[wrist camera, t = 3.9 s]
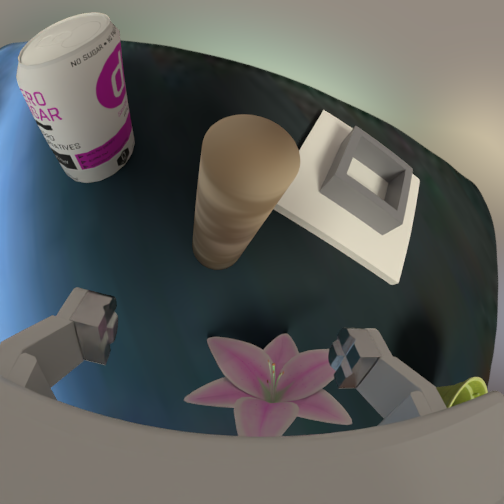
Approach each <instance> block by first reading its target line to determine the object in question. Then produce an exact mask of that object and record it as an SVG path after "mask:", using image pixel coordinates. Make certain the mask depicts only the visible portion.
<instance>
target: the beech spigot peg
mask: <svg viewBox="0 0 504 504" xmlns="http://www.w3.org/2000/svg"><path fill="white" fill-rule="evenodd" d="M299 168H300V154H299V150H298V147H297V145H296V143H295V141H294V140H293V138H292V137H291V136H290V135H289V134H288V132H287V131H285V130H284V129H283V128H282V127H281V126H279V125H278V124H276V123H274V122H273V121H270V120H268V119H266V118H263V117H260V116H255V115H247V114H240V115H233V116H229V117H226V118H223V119H221V120H219V121H218V122H216V123H215V124H213V125H212V126H211V127H210V128H209V130H208V131H207V133H206V134H205V136H204V139H203V143H202V150H201V159H200V167H199V176H198V186H197V195H196V206H195V217H194V230H193V243H192V247H193V252H194V255H195V257H196V258H197V260H198V261H199V262H200V263H201V264H202V265H204V266H205V267H207V268H210V269H215V270H221V269H225V268H228V267H230V266H232V265H233V264H234V263H235V262H236V261H237V260H238V258H239V257H240V256H241V254H242V253H243V251H244V250H245V248H246V247H247V246H248V244H249V243H250V241H251V240H252V238H253V237H254V236H255V234H256V233H257V231H258V230H259V228H260V227H261V226H262V224H263V223H264V221H265V220H266V219H267V217H268V216H269V214H270V213H271V211H272V210H273V209H274V207H275V206H276V204H277V203H278V201H279V200H280V199H281V197H282V196H283V194H284V193H285V192H286V190H287V189H288V187H289V186H290V184H291V183H292V182H293V180H294V179H295V177H296V176H297V174H298V171H299Z"/></svg>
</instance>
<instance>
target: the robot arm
mask: <svg viewBox="0 0 504 504" xmlns="http://www.w3.org/2000/svg"><path fill="white" fill-rule="evenodd" d="M116 307H117V303H116V298H115V297H114V296H111V295H106V294H102V293H98V292H94V291H91V290H86V289H82V288H78V287H76V288H74V289H73V291H72V292H71V294H70V295H69V297H68V298H67V300H66V301H65V303H64V304H63V306H62V308H61V309H60V311H59V312H58V314H57V315H56V316H53V315H52V316H50V317H48V318H46V319H44V320H42V321H40V322H38V323H37V324H35V325H33V326H31V327H29V328H27V329H25V330H23V331H21V332H19V333H17V334H15V335H13V336H11V337H10V338H8V339H6V340H4V341H2V342H1V344H0V504H504V395H503V394H501V393H499V392H498V391H491V392H488V393H486V394H484V395H481V396H479V397H476V398H474V399H471V400H469V401H466V402H463V403H461V404H458V405H455V406H452V407H449V408H447V407H446V405H445V404H444V402H443V400H442V398H441V396H440V394H439V392H438V391H437V389H436V387H435V386H434V385H432V384H431V383H430V382H428V381H427V380H426V379H424V378H423V377H422V376H420V375H419V374H418V373H417V372H415V371H414V370H413V369H411V368H410V367H409V366H407V365H406V364H405V363H403V362H402V361H401V360H399V359H398V358H397V357H393V356H392V354H391V352H390V351H389V349H388V347H387V345H386V344H385V342H384V340H383V338H382V336H381V335H380V333H379V331H378V330H377V329H370V328H365V329H362V328H342V329H341V330H340V331H339V333H338V335H337V336H338V340H337V341H335V342H334V343H332V345H331V347H330V349H329V354H328V360H329V364H330V366H331V367H332V368H333V369H334V370H335V373H334V378H335V381H336V384H337V387H338V388H356V389H357V390H358V391H359V392H360V393H361V395H362V396H363V397H364V398H365V399H366V400H367V401H368V402H369V403H370V404H371V405H372V406H373V407H374V408H375V409H376V410H377V412H378V413H379V414H380V415H381V416H382V417H383V418H384V420H383V421H382V422H381V423H380V424H379V425H378V426H375V427H370V428H364V429H358V430H351V431H344V432H336V433H327V434H316V435H302V436H279V437H248V436H225V435H211V434H201V433H191V432H183V431H176V430H169V429H163V428H157V427H152V426H146V425H141V424H136V423H132V422H127V421H123V420H119V419H115V418H111V417H107V416H103V415H100V414H96V413H93V412H90V411H86V410H83V409H80V408H77V407H74V406H71V405H68V404H65V403H62V402H60V401H57V399H56V397H55V396H54V394H53V392H52V390H51V387H52V386H53V385H55V384H56V383H57V382H58V381H59V380H61V379H62V378H63V377H64V376H66V375H67V374H68V373H69V372H70V371H72V370H73V369H74V368H75V367H77V366H78V365H79V364H80V363H81V362H83V360H87V361H91V362H95V363H99V364H104V365H106V362H107V360H108V357H109V354H110V351H111V349H110V344H111V343H112V342H114V340H115V337H116V334H117V329H118V316H117V314H116V313H115V312H114V311H115V309H116Z"/></svg>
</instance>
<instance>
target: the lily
mask: <svg viewBox="0 0 504 504" xmlns="http://www.w3.org/2000/svg"><path fill="white" fill-rule="evenodd" d="M207 343H208V346H209V348H210V350H211V352H212V354H213V356H214V358H215V360H216V362H217V364H218V366H219V368H220V369H221V371H222V372H223V374H224V375H225V376H226V377H224V378H220V379H218V380H215V381H213V382H211V383H208V384H206V385H204V386H202V387H200V388H199V389H197V390H195V391H193V392H192V393H190V394H189V395H187V396H186V397H185V399H184V401H186V402H188V403H193V404H200V405H207V406H217V407H231V408H234V415H235V421H236V427H237V432H238V436H248V437H279V436H282V434H283V433H284V432H285V431H286V429H287V428H288V427H289V426H290V425H291V423H292V422H293V421H294V420H295V418H296V416H298V417H302V418H306V419H311V420H316V421H322V422H328V423H335V424H344V425H349V424H352V419H351V418H350V416H349V414H348V413H347V412H346V411H345V409H344V408H343V407H342V406H341V405H340V404H339V403H338V402H337V401H336V400H335V398H334V397H333V396H331V395H330V394H329V393H328V392H326V391H325V390H323V389H322V388H323V387H325V386H326V385H327V384H328V383H329V382H331V381H332V380H333V379H334V373H335V370H334V369H333V368H332V367H331V366H330V364H329V360H328V354H329V349H318V350H309V351H305V352H302V353H299V352H298V349H297V347H296V345H295V343H294V341H293V340H292V338H291V337H290V336H289V335H288V334H281V335H279V336H278V337H276V338H275V339H274V340H272V341H271V342H270V343H269V344H268V345H267V346H266V347H265V348H264V350H262V349H261V348H259V347H257V346H255V345H253V344H250V343H247V342H244V341H240V340H235V339H231V338H224V337H210V338H208V339H207Z"/></svg>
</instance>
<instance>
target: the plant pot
mask: <svg viewBox="0 0 504 504" xmlns="http://www.w3.org/2000/svg"><path fill="white" fill-rule="evenodd" d="M436 389H437V391H438V392H439V394H440V396H441V398H442V400H443V402H444V404H445V405H446V407H447V408H449V407H452V406H455V405H458V404H461V403H463V402H466V401H469V400H471V399H474V398H476V397H479V396H481V395H484V394H486V393H488V391H487V387H486V384H485V382H484V381H483V379H481V378H479V377H471V378H469V379H467V380H466V381H465V382H461V383H458V384H456V385H452V386H445V387H436Z"/></svg>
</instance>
